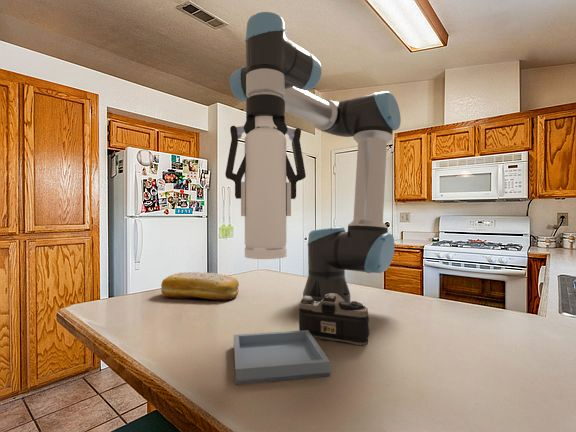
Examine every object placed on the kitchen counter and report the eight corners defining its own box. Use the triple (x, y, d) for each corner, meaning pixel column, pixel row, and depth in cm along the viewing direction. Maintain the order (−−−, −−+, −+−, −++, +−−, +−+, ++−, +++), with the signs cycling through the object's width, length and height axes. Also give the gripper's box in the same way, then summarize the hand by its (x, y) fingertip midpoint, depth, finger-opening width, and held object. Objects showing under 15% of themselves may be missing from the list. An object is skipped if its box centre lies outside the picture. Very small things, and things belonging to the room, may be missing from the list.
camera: (374, 332, 79) (374, 290, 79) (366, 349, 70) (366, 300, 70) (311, 324, 86) (311, 284, 86) (295, 338, 76) (295, 293, 76)
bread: (173, 291, 123) (173, 269, 123) (244, 293, 119) (243, 271, 119) (153, 300, 110) (153, 276, 110) (231, 303, 106) (231, 278, 106)
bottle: (280, 259, 61) (280, 104, 61) (238, 258, 63) (238, 107, 63) (290, 254, 69) (290, 116, 69) (252, 253, 71) (252, 119, 71)
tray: (308, 341, 74) (308, 329, 74) (330, 375, 58) (330, 361, 58) (233, 346, 71) (233, 334, 71) (235, 384, 55) (235, 369, 55)
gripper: (313, 107, 71) (313, 215, 71) (212, 102, 68) (212, 216, 68) (322, 95, 64) (322, 216, 64) (209, 89, 61) (209, 216, 61)
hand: (265, 215), depth 66 cm, fingers closed on bottle, 8 cm apart
